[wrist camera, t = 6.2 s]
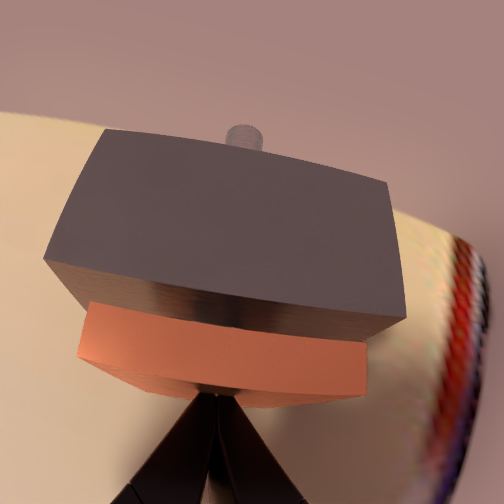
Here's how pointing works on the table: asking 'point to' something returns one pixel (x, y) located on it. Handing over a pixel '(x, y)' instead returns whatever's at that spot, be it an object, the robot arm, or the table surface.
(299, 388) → the lock pin
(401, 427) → the table surface
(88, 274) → the block
